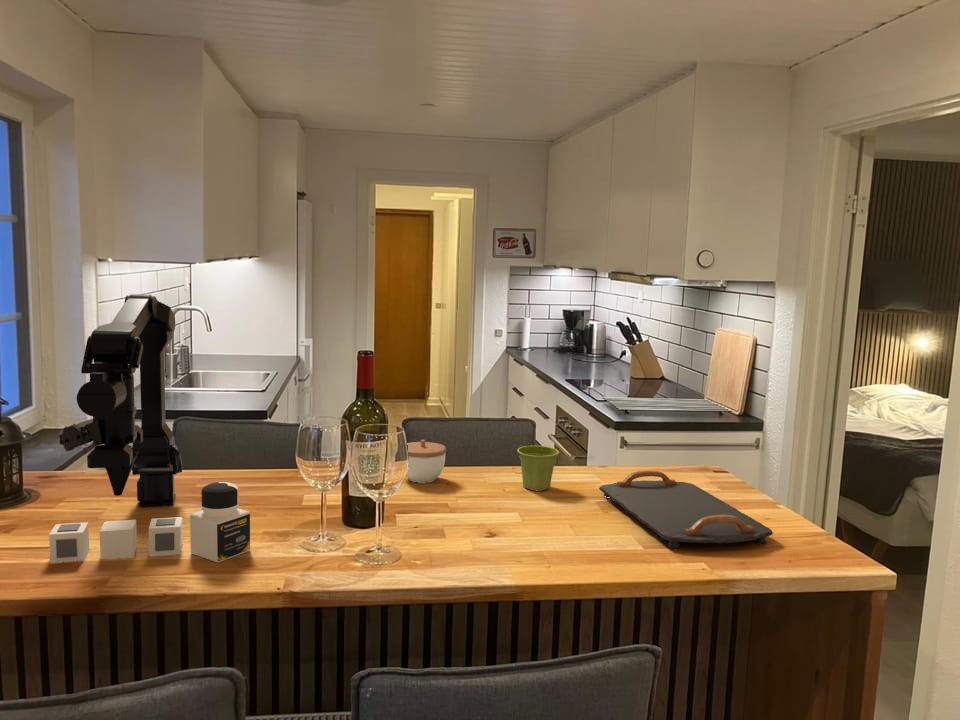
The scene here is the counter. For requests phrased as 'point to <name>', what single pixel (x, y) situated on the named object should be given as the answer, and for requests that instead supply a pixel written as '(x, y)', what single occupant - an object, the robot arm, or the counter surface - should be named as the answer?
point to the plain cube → (118, 539)
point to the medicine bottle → (220, 524)
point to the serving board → (683, 511)
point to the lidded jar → (425, 461)
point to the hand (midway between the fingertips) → (118, 495)
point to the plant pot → (537, 466)
